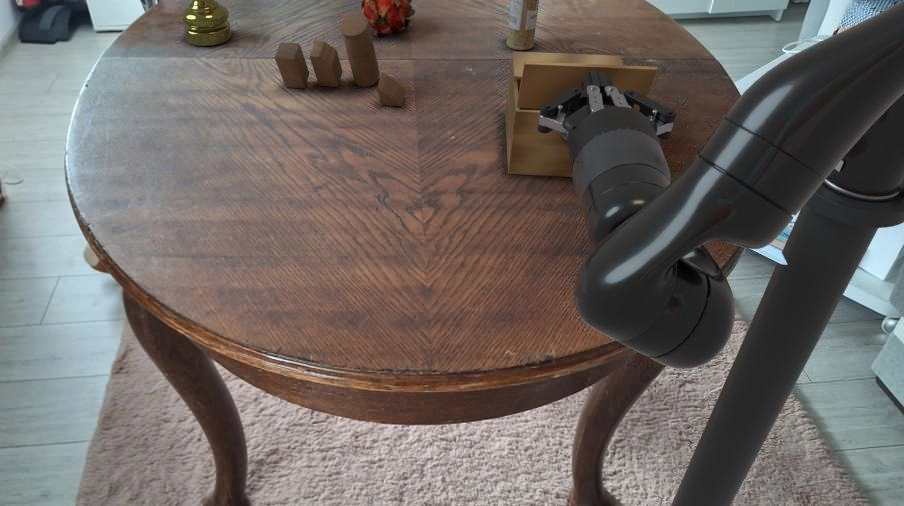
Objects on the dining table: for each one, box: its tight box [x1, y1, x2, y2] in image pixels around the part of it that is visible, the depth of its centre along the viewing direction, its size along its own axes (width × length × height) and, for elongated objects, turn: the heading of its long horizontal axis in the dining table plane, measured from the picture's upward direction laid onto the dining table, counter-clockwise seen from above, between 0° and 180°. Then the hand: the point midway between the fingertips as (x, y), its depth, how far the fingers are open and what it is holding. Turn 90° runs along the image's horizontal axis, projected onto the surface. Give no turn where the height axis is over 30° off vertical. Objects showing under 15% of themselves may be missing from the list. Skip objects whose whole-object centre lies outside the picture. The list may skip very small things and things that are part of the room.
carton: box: [504, 50, 625, 178], centre depth 93 cm, size 14×15×9 cm
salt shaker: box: [180, 0, 232, 47], centre depth 118 cm, size 7×7×10 cm
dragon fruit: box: [360, 0, 416, 37], centre depth 122 cm, size 8×8×12 cm
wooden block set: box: [274, 12, 407, 107], centre depth 104 cm, size 18×9×10 cm, turn 76°
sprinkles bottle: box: [506, 0, 540, 51], centre depth 116 cm, size 5×5×13 cm
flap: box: [517, 61, 658, 111], centre depth 81 cm, size 14×7×1 cm
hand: (594, 80), depth 75 cm, fingers closed
